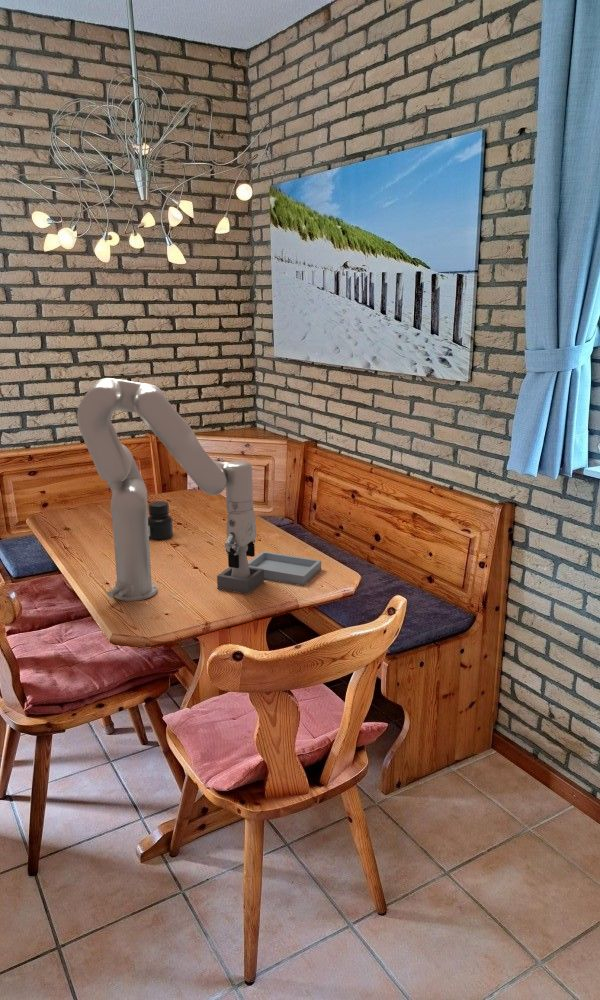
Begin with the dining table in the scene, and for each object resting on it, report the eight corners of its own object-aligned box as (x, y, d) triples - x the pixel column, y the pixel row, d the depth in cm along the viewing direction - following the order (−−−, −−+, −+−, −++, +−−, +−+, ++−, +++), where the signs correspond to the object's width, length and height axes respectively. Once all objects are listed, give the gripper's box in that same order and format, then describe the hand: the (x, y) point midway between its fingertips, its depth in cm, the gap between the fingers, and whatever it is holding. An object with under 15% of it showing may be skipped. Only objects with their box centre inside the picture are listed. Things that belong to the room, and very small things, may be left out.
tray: (303, 585, 207) (303, 576, 206) (242, 575, 215) (242, 566, 214) (321, 569, 219) (321, 560, 219) (263, 560, 227) (263, 551, 226)
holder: (248, 594, 201) (248, 581, 200) (217, 588, 205) (217, 575, 204) (263, 581, 210) (263, 569, 209) (233, 576, 213) (233, 564, 212)
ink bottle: (155, 531, 254) (153, 499, 251) (177, 533, 252) (176, 501, 248) (142, 539, 245) (140, 506, 242) (165, 542, 243) (163, 508, 239)
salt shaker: (242, 590, 203) (242, 548, 200) (226, 586, 206) (225, 544, 203) (254, 584, 208) (254, 542, 205) (239, 579, 211) (238, 538, 207)
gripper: (237, 515, 191) (239, 574, 196) (265, 498, 207) (266, 553, 211) (213, 512, 194) (215, 570, 199) (242, 495, 209) (244, 550, 214)
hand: (241, 561), depth 205 cm, fingers open, 9 cm apart
